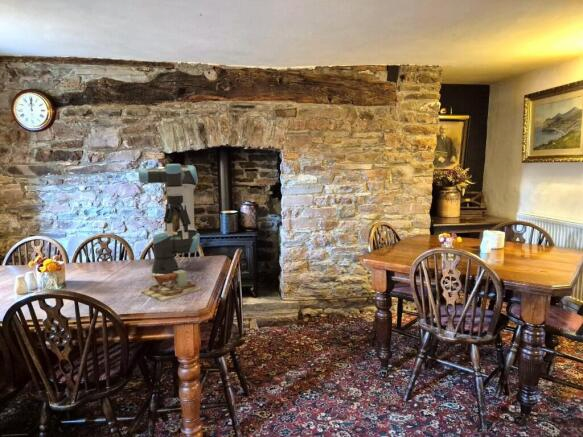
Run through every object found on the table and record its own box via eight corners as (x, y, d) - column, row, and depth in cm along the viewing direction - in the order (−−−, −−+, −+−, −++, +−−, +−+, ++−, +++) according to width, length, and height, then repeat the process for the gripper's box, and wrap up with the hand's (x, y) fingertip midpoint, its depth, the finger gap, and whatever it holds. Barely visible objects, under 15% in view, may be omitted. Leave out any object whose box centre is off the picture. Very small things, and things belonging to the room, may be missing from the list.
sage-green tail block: (173, 286, 201) (172, 271, 200) (182, 284, 205) (181, 269, 204) (179, 288, 198) (178, 273, 197) (187, 286, 201) (187, 271, 200)
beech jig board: (140, 293, 195) (140, 288, 195) (179, 282, 212) (179, 278, 211) (162, 301, 182) (162, 296, 182) (201, 289, 199) (201, 284, 198)
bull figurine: (150, 288, 194) (149, 272, 193) (178, 285, 199) (177, 269, 197) (150, 291, 190) (149, 274, 189) (179, 287, 195) (178, 271, 193)
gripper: (155, 194, 200) (157, 235, 203) (183, 196, 184) (185, 241, 187) (168, 193, 206) (170, 233, 208) (196, 195, 189) (198, 238, 192)
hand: (177, 237), depth 197 cm, fingers open, 13 cm apart
